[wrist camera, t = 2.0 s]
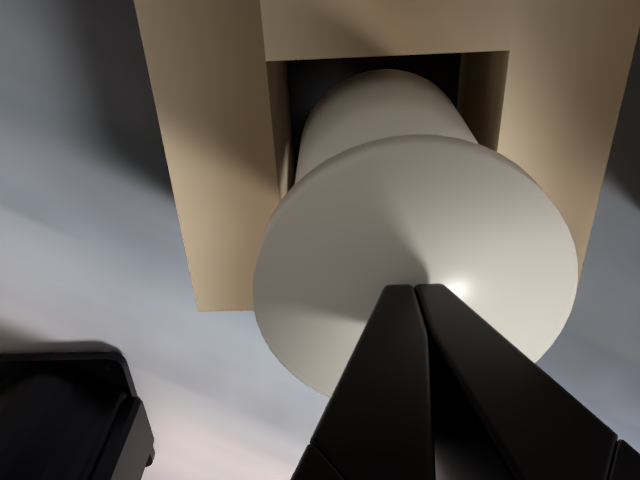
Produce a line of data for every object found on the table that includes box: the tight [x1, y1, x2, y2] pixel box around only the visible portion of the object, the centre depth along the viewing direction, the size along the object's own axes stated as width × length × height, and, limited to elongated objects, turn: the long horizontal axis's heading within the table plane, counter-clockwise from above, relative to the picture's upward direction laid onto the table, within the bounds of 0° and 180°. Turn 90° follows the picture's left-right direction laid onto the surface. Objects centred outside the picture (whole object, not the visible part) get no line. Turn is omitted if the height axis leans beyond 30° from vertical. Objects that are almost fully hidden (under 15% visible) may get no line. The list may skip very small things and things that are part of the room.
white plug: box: [252, 69, 578, 398], centre depth 11 cm, size 5×5×6 cm
